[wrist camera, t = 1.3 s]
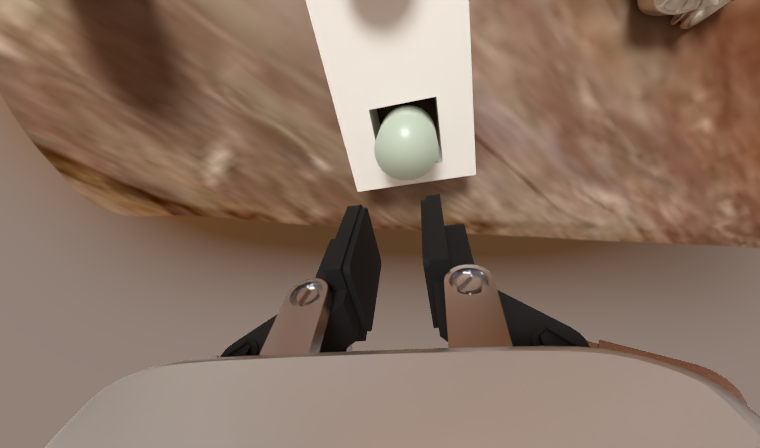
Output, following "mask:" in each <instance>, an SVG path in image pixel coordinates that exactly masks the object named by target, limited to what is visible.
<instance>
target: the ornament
mask: <svg viewBox="0 0 760 448" xmlns="http://www.w3.org/2000/svg"><path fill="white" fill-rule="evenodd" d="M731 1H733V0H637V3H638V7H639V9H640V11H641V12H643V13H645V14H647V15H652V16H662V15H673V18H672V20H671V25H674V24H676V23H677V22H678V21H679V20H680V21H681V24H680V28H681V29H688V28H691V27H693V26H694V25H696V24H698V23H699V22H701V21H702V20H704V19H705V18H707V17H708V16H710V15H711V14H713V13H714V12H715V11H717V10H718V9H720V8H721V7H723V6H724V5H726V4H727V3H729V2H731Z"/></svg>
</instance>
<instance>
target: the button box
mask: <svg viewBox="0 0 760 448" xmlns="http://www.w3.org/2000/svg"><path fill="white" fill-rule="evenodd" d="M306 3H307V7H308V11H309V14H310V18H311V22H312V25H313V29H314V33H315V36H316V40H317V44H318V47H319V51H320V55H321V59H322V62H323V66H324V70H325V73H326V77H327V81H328V84H329V88H330V92H331V95H332V99H333V103H334V106H335V110H336V114H337V117H338V121H339V125H340V129H341V132H342V136H343V140H344V143H345V147H346V151H347V154H348V158H349V162H350V165H351V169H352V173H353V176H354V180H355V184H356V187H357V191H358V192H360V191H367V190H374V189H381V188H388V187H394V186H401V185H408V184H415V183H422V182H429V181H436V180H443V179H450V178H457V177H464V176H471V175H476V165H475V141H474V116H473V92H472V67H471V43H470V18H469V0H306ZM432 97H435V107H436V117H437V126H438V136H439V151H438V157H437V160H436V162H435V164H434V166H433V167H432V168H431V170H430V171H429V172H427V173H426V174H425V175H423V176H422V177H420V178H417V179H414V180H398V179H395V178H393V177H391V176H389V175H387V174H386V173H385V172H384V171H383V170H382V169H381V168H380V167H379V165H378V163H377V161H376V158H375V153H374V146H375V141H376V138H377V135H378V132H379V130H380V123H379V118H378V113H377V108H382V107H387V106H392V105H397V104H402V103H407V102H412V101H417V100H422V99H427V98H432Z"/></svg>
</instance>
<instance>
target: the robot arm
mask: <svg viewBox="0 0 760 448" xmlns="http://www.w3.org/2000/svg"><path fill="white" fill-rule="evenodd" d="M421 222H422V253H423V265H424V271H425V278H426V284H427V290H428V296H429V302H430V308H431V313H432V320H433V326H434V328H439V332H440V336H441V337H442V338H444V339H445V340H446V341H447V342H448V346H449V348H434V349H404V350H377V351H352V346H351V344H353V343H354V342H355V341H365V340H366V335H367V331H371V330H372V325H373V318H374V311H375V304H376V297H377V290H378V284H379V277H380V270H381V259H380V255H379V251H378V247H377V243H376V239H375V235H374V232H373V228H372V224H371V220H370V216H369V212H368V209H367V208H363V207H362V205H356V206H349V207H347V210H346V212H345V215H344V217H343V220H342V223H341V225H340V228H339V230H338V233H337V236H336V238H335V239H331V241H330V243H329V245H328V248H327V250H326V253H325V255H324V257H323V260H322V262H321V265H320V267H319V270H318V272H317V275H316V277H315V278H311V279H306V280H304V281H301V282H299V283H298V284H296V285H295V286H293V287H292V288H291V289H290V290H289V292H288V293H287V295H286V297H285V299H284V301H283V304H282V306H281V308H280V310H279V312H278V314H277V315H276V316H274V317H273V318H271V319H270V320H268V321H267V322H265V323H263V324H262V325H260V326H259V327H257V328H256V329H254V330H253V331H251V332H250V333H248V334H247V335H245V336H244V337H242V338H241V339H239V340H238V341H236V342H235V343H233V344H232V345H231V346H229V347H228V348H227V349H226V350H225V351H224V353H223V354H222V355H221V356H220V357H219V356H218V355H215V356H213V357H210V358H205V359H194V360H184V361H179V362H172V363H167V364H162V365H159V366H155V367H151V368H148V369H145V370H142V371H140V372H137V373H135V374H132V375H129V376H127V377H125V378H122V379H120V380H118V381H116V382H115V383H113V384H111V385H109V386H107V387H106V388H105V389H103V390H102V391H100V392H99V393H98V394H96V395H95V396H94V397H93V398H92V399H91V400H90V401H89V402H88V403H87V404H86V405H85V406H84V407H83V408H82V409H80V411H78V412H77V413H76V415H74V417H72V418H71V419H70V421H69V422H68V423H67V424H66V425H65V426H64V427H63V428H62V429H61V430H60V431H59V432H58V433H57V434H56V435H55V437H54V438H53V439H52V440H51V441H50V442H49V443H48V444H47V445H46V447H45V448H760V416H759V415H758V414H757V413H755V412H754V411H753V410H752V409H751V408H750V407H748V405H747V402H746V400H745V399H744V397H743V396H742V394H741V392H740V391H739V390H738V389H737V388H736V387H735V386H734V385H733V384H732V383H731V382H730V381H728V380H727V379H726V378H724V377H723V376H721V375H719V374H717V373H716V372H714V371H712V370H710V369H707V368H705V367H702V366H699V365H696V364H692V363H689V362H684V361H681V360H677V359H673V358H669V357H665V356H661V355H657V354H653V353H649V352H646V351H641V350H638V349H634V348H630V347H626V346H622V345H618V344H614V343H610V342H606V341H602V340H599V343H598V344H597V343H592V342H589V341H587V340H586V339H585V338H584V337H583V336H582V335H581V334H580V333H578V332H577V331H576V330H574V329H572V328H571V327H569V326H567V325H565V324H563V323H561V322H559V321H557V320H555V319H553V318H551V317H549V316H547V315H545V314H544V313H542V312H540V311H538V310H536V309H534V308H532V307H530V306H528V305H526V304H523V303H522V302H520V301H518V300H516V299H514V298H512V297H510V296H508V295H506V294H504V293H502V292H500V291H498V290H497V287H496V283H495V280H494V277H493V275H492V274H491V273H490V272H489V271H488V270H487V269H485V268H483V267H481V266H477V265H474V262H473V258H472V254H471V250H470V246H469V242H468V238H467V234H466V230H465V226H464V224H456V225H447V226H444V221H443V214H442V207H441V201H440V194H437V195H430V196H426V200H421Z"/></svg>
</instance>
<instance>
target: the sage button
mask: <svg viewBox="0 0 760 448" xmlns="http://www.w3.org/2000/svg"><path fill="white" fill-rule="evenodd" d="M438 151H439V145H438V140H437V135H436V130H435V125H434V122H433V120H432V118H431V117H430V115H429V114H428V113H427V112H426V111H425V110H423V109H422V108H420V107H417V106H414V105H403V106H399V107H397V108H395V109H393V110H392V111H390V112H389V113H388V114H387V115H386V117H385V118H384V120H383V122H382V124H381V127H380V130H379V132H378V135H377V138H376V141H375V146H374V153H375V158H376V161H377V163H378V165H379V167H380V168H381V169H382V170H383V171H384V172H385V173H386V174H387V175H389V176H391V177H393V178H395V179H398V180H414V179H417V178H420V177H422V176H423V175H425V174H426V173H427V172H429V171H430V170H431V168H432V167H433V166H434V164H435V162H436V160H437V157H438Z"/></svg>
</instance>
